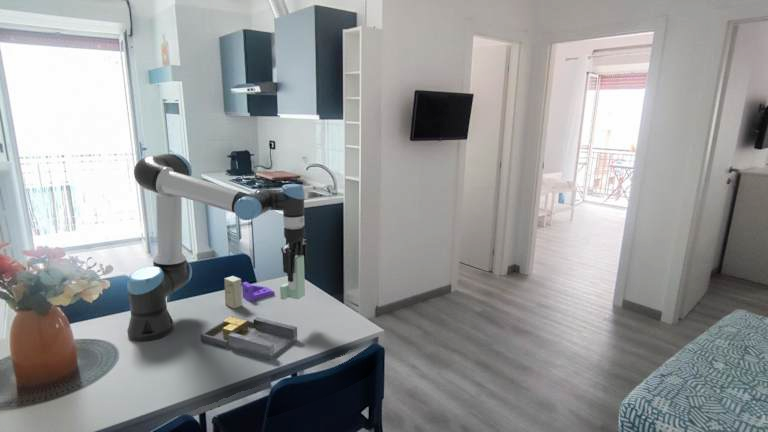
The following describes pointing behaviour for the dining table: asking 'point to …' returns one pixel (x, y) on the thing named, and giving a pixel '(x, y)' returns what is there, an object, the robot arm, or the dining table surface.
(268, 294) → the bracket
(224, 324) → the dull yellow cube
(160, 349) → the dining table surface
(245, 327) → the tan yellow cube
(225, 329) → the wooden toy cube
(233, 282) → the skincare box
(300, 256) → the mint t-shaped block
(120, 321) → the dining table surface
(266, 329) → the slot rail
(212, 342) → the chip tray
